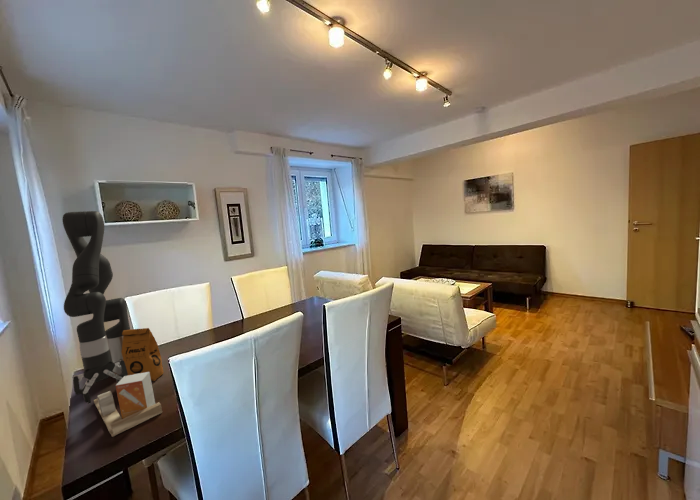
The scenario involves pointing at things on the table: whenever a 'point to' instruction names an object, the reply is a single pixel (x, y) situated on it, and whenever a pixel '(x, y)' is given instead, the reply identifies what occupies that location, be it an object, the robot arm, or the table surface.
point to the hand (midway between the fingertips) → (105, 395)
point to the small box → (134, 393)
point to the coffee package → (141, 353)
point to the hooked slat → (114, 419)
